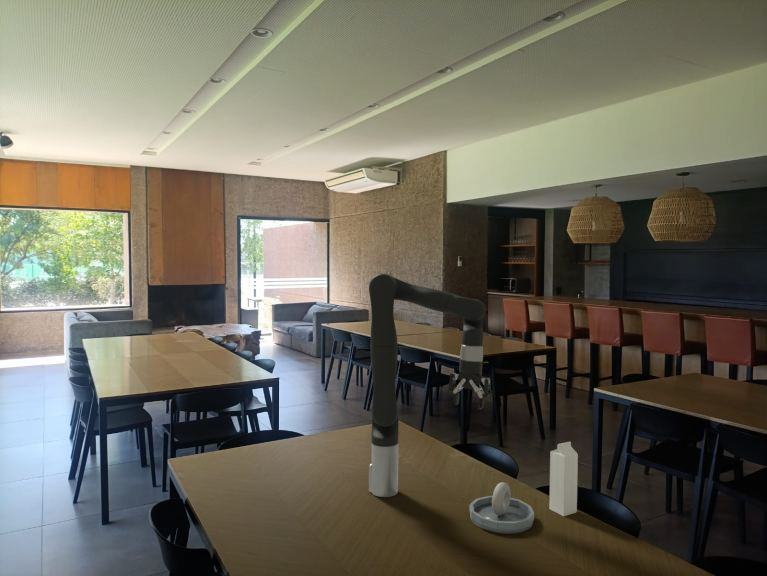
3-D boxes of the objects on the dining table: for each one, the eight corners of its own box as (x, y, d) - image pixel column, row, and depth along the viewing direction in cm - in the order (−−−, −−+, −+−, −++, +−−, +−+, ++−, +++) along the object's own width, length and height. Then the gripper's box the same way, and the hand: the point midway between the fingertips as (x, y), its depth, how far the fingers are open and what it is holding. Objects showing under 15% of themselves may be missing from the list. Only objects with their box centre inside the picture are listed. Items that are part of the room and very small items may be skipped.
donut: (500, 522, 167) (501, 489, 167) (489, 519, 169) (490, 487, 168) (512, 510, 175) (512, 479, 175) (501, 507, 177) (502, 476, 177)
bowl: (459, 522, 169) (459, 512, 169) (484, 500, 185) (484, 491, 185) (520, 539, 159) (520, 528, 159) (541, 515, 175) (541, 505, 175)
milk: (576, 512, 177) (578, 444, 176) (563, 516, 174) (565, 447, 173) (562, 505, 182) (563, 438, 181) (548, 509, 179) (550, 441, 178)
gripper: (447, 356, 187) (444, 404, 188) (486, 362, 180) (483, 412, 180) (456, 354, 194) (453, 401, 194) (495, 360, 186) (492, 408, 186)
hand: (468, 406), depth 187 cm, fingers open, 8 cm apart
